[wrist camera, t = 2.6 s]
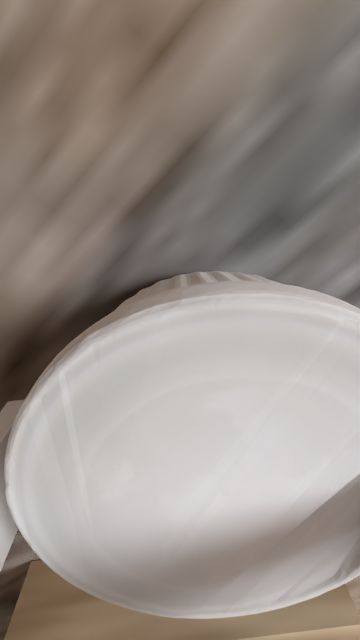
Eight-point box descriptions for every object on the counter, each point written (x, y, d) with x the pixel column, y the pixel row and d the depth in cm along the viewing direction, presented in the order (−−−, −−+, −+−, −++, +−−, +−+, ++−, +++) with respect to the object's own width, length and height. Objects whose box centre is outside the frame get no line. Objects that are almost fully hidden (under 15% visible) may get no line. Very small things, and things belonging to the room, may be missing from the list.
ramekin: (314, 482, 15) (383, 619, 11) (78, 484, 15) (36, 633, 10) (381, 248, 11) (554, 300, 6) (48, 237, 10) (-54, 286, 5)
